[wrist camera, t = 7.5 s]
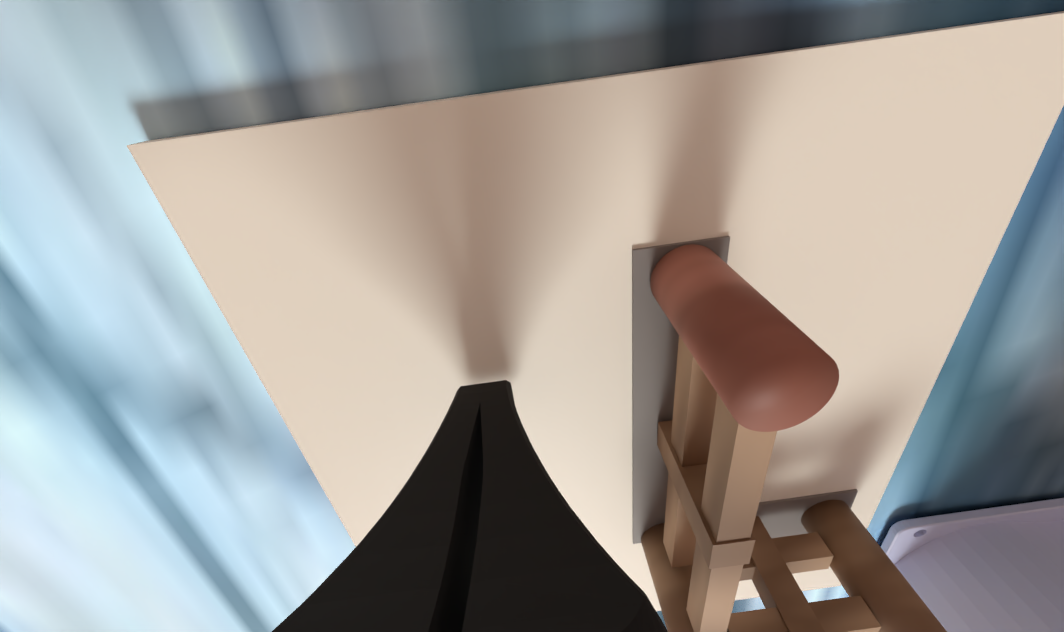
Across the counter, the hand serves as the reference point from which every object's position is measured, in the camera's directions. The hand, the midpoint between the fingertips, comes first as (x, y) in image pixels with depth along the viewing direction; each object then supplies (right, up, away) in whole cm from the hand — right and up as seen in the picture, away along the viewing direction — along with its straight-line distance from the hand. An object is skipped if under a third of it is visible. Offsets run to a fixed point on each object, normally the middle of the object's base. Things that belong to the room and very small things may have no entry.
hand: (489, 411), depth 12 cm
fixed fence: (+9, -6, +5) cm, 12 cm away
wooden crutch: (+5, 0, +2) cm, 6 cm away
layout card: (+4, -2, +3) cm, 5 cm away
